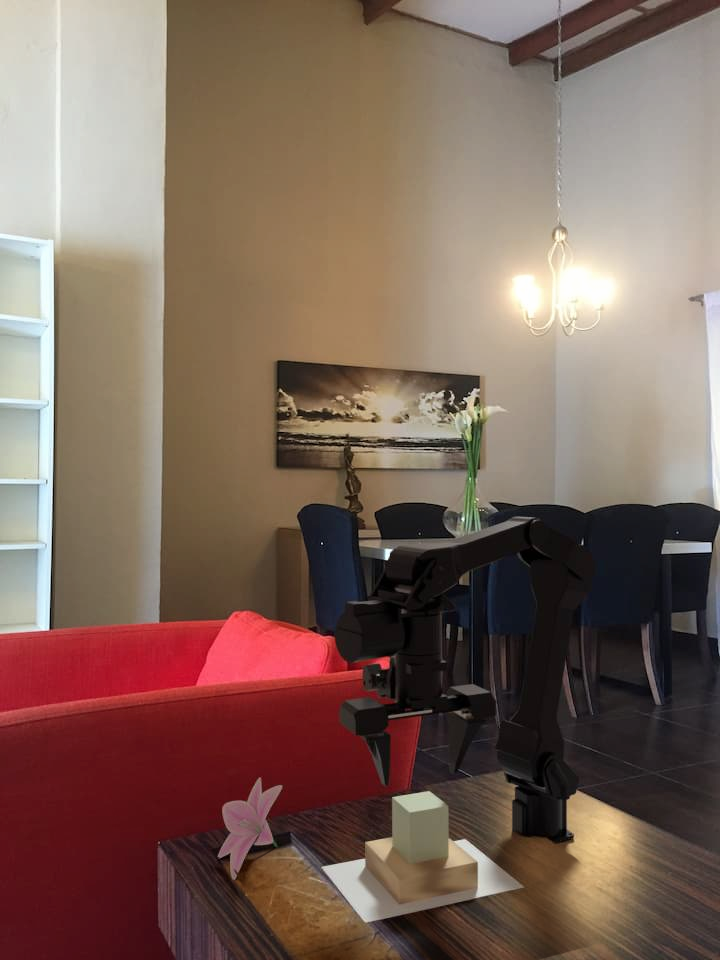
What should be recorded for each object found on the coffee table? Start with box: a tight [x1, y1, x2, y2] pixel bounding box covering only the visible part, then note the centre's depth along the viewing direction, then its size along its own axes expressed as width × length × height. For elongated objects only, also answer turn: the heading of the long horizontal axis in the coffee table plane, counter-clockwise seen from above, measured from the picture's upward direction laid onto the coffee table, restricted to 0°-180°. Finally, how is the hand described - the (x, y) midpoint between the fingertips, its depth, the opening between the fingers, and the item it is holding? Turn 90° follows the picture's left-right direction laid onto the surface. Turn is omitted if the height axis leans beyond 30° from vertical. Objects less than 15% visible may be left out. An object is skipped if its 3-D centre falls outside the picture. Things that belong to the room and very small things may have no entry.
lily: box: [217, 777, 283, 881], centre depth 111 cm, size 12×12×10 cm
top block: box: [391, 790, 450, 864], centre depth 104 cm, size 5×5×6 cm
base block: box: [364, 836, 478, 905], centre depth 104 cm, size 10×10×3 cm
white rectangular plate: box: [320, 838, 525, 924], centre depth 104 cm, size 20×14×1 cm
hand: (419, 779), depth 105 cm, fingers open, 9 cm apart
